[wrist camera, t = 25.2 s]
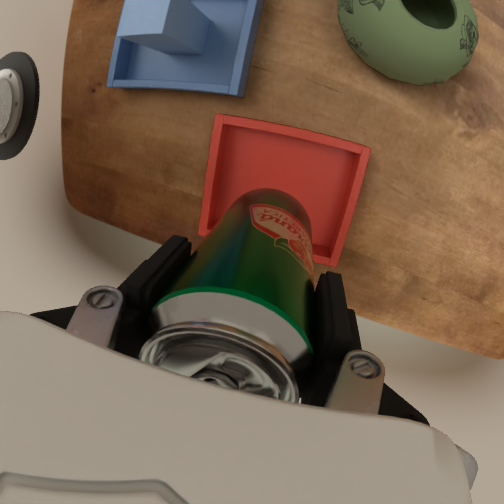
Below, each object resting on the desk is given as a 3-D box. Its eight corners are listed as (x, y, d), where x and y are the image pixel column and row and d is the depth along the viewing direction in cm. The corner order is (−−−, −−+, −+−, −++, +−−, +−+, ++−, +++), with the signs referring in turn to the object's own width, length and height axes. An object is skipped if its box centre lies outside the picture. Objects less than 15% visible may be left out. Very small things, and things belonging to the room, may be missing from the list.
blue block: (165, 54, 24) (115, 36, 16) (173, 19, 22) (127, -8, 14) (202, 55, 24) (162, 33, 16) (210, 19, 22) (174, -13, 14)
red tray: (207, 224, 32) (198, 235, 29) (224, 114, 27) (215, 113, 24) (333, 254, 31) (336, 267, 28) (364, 145, 26) (371, 148, 23)
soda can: (328, 237, 17) (350, 411, 7) (261, 279, 19) (213, 449, 9) (276, 168, 16) (218, 271, 6) (209, 219, 18) (96, 356, 7)
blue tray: (121, 88, 27) (105, 87, 24) (141, -5, 21) (128, -13, 19) (243, 97, 26) (237, 95, 23) (265, -6, 20) (261, -18, 18)
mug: (442, 110, 22) (488, 110, 15) (319, 58, 23) (326, 33, 15) (463, -8, 15) (501, -32, 8) (352, -58, 16) (363, -101, 8)
